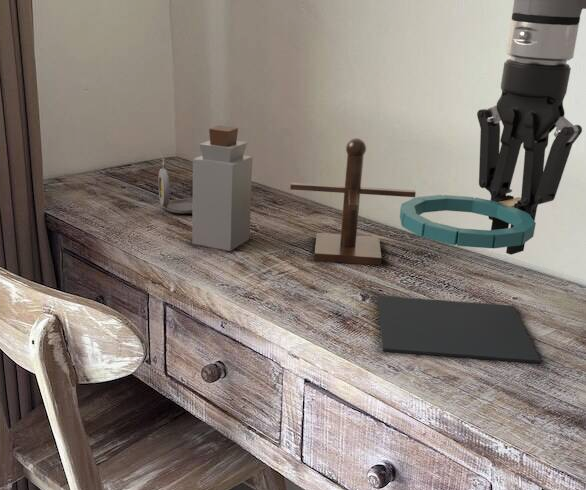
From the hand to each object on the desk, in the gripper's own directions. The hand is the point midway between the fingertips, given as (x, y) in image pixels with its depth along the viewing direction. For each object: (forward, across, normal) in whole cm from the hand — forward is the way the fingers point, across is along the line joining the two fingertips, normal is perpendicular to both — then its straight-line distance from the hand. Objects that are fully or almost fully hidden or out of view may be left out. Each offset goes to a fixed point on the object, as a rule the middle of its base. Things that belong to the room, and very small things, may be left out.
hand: (505, 248), depth 104 cm
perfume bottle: (+9, -42, -14) cm, 45 cm away
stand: (+9, -27, 0) cm, 29 cm away
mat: (+9, 0, -9) cm, 13 cm away
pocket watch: (+9, -60, -10) cm, 61 cm away
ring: (-5, 0, -8) cm, 10 cm away
